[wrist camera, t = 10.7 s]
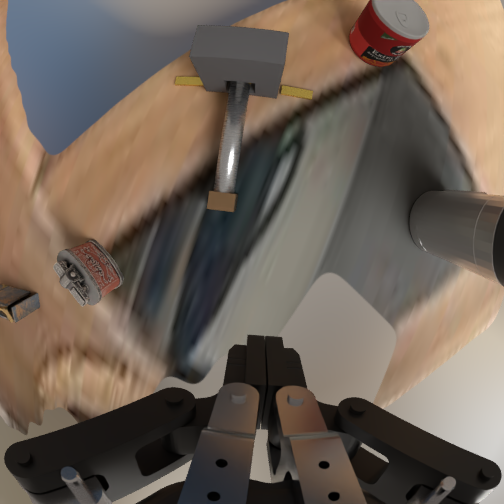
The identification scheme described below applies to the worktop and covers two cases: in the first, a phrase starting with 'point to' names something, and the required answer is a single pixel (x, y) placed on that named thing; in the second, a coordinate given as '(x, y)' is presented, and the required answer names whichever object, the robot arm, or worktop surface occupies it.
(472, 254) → the robot arm
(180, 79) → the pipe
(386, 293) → the worktop surface
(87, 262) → the lighter
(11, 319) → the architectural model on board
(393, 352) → the worktop surface
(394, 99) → the worktop surface
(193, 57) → the block
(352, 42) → the canned food
